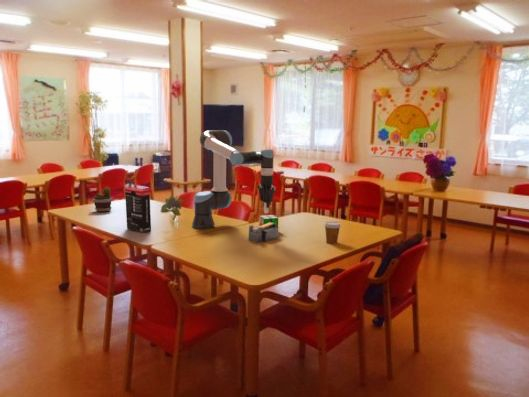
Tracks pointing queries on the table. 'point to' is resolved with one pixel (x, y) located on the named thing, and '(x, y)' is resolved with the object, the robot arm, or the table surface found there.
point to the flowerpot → (103, 201)
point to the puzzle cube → (268, 220)
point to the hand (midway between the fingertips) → (266, 212)
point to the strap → (262, 226)
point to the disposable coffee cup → (332, 232)
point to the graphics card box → (138, 209)
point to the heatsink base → (263, 233)
